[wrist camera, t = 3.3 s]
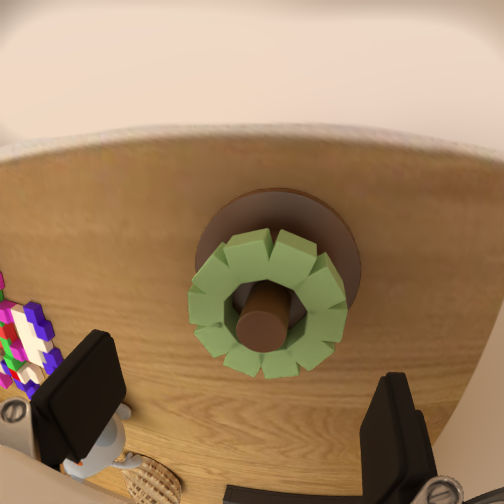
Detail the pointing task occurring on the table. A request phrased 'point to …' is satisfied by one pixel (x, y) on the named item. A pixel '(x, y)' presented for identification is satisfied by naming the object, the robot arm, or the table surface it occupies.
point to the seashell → (151, 483)
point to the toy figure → (105, 450)
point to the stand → (274, 218)
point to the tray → (281, 497)
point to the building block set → (25, 345)
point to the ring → (284, 273)
